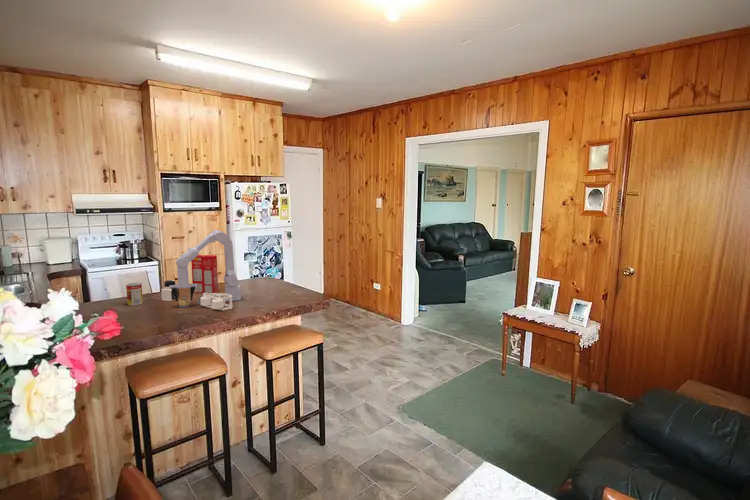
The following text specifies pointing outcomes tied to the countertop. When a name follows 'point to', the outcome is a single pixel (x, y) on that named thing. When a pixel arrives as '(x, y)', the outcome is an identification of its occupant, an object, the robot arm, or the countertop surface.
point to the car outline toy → (216, 301)
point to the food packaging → (205, 273)
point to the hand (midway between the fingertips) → (184, 300)
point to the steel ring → (199, 301)
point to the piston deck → (184, 305)
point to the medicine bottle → (169, 291)
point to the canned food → (134, 293)
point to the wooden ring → (184, 301)
